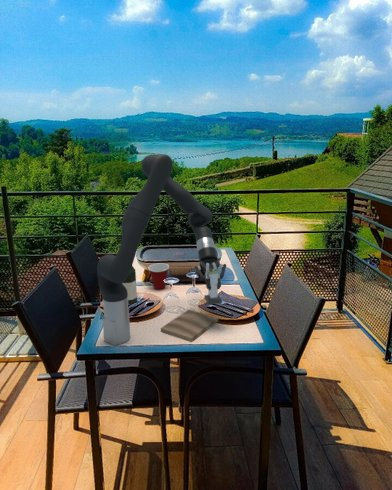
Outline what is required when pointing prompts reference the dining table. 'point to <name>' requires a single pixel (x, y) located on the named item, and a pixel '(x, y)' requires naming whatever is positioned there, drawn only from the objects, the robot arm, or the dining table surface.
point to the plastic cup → (158, 275)
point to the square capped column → (213, 288)
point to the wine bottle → (131, 286)
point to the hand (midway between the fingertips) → (214, 288)
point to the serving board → (189, 325)
